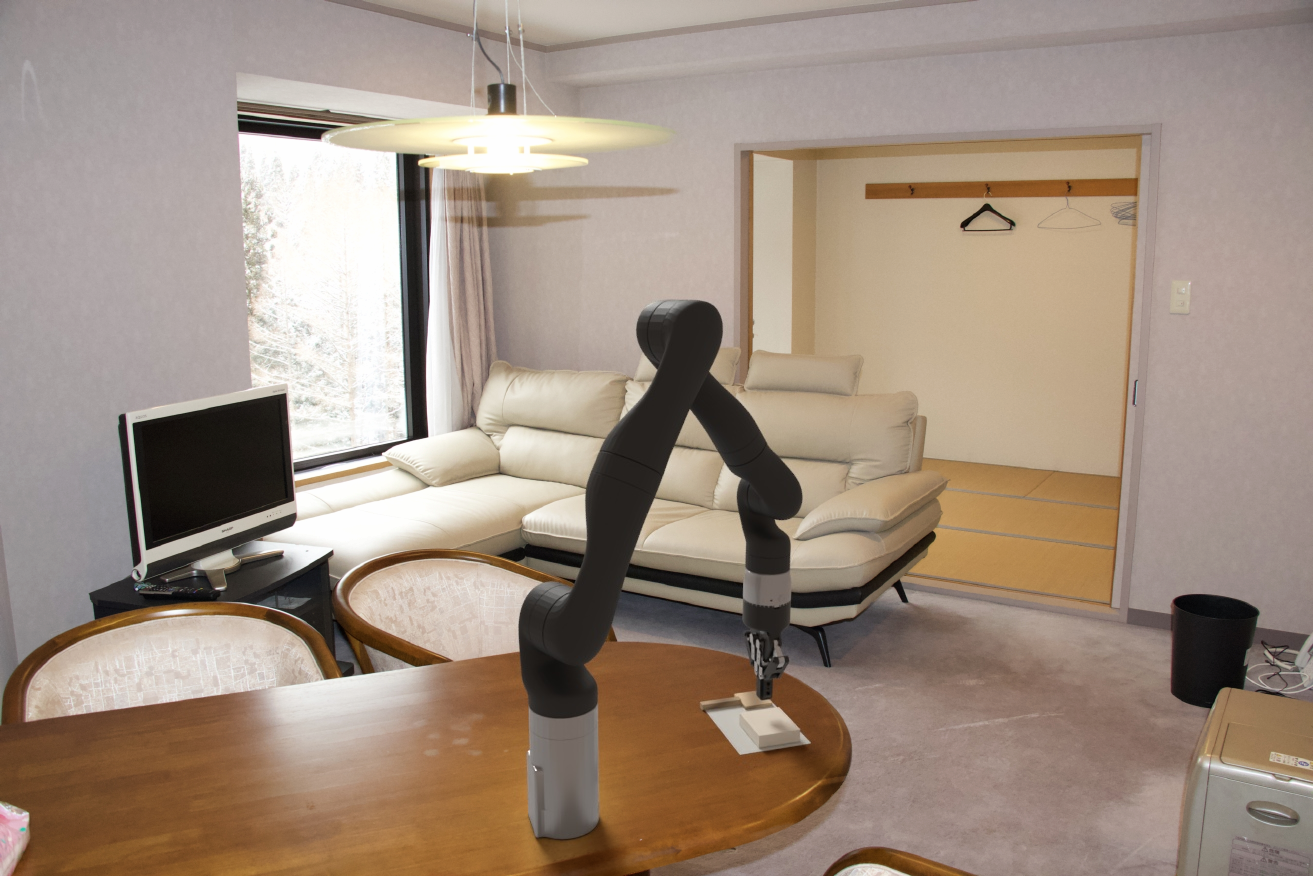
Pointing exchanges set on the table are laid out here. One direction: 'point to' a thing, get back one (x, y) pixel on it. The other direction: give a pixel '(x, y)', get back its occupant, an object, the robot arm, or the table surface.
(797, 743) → the mat
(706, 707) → the turner
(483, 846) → the table surface
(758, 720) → the tile
